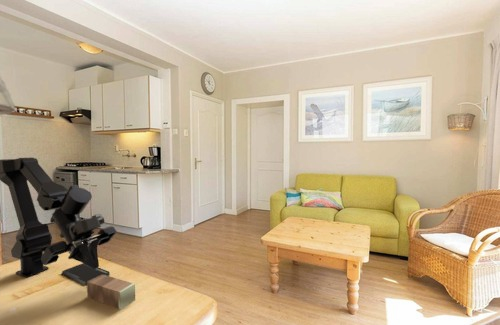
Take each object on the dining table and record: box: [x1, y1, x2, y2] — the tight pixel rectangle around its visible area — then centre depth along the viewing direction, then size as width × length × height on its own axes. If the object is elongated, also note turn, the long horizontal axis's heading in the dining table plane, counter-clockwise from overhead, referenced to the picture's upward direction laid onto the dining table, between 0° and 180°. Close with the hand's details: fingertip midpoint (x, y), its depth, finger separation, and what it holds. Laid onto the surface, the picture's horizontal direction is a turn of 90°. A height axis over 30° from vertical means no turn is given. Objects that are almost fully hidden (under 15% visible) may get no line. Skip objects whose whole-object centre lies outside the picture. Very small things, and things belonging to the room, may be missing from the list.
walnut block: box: [86, 274, 136, 310], centre depth 69 cm, size 4×4×13 cm
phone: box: [61, 263, 111, 286], centre depth 83 cm, size 8×1×15 cm
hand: (96, 267), depth 71 cm, fingers closed
